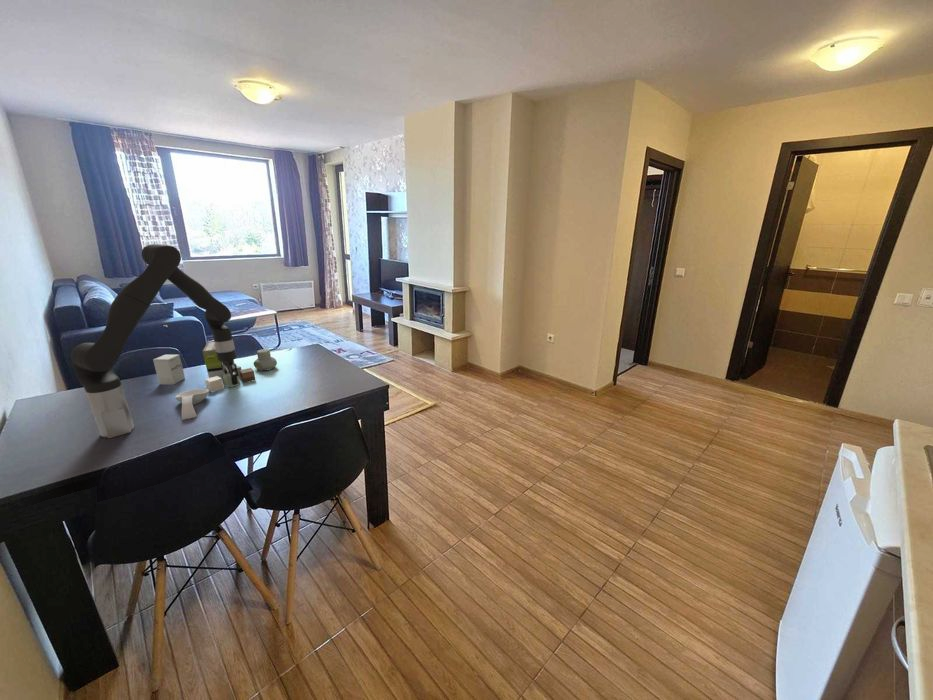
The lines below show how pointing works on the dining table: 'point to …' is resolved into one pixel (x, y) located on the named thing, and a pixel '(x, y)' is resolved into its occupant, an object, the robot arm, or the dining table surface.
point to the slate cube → (238, 370)
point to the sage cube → (229, 380)
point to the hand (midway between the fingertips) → (232, 381)
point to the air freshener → (264, 360)
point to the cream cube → (214, 383)
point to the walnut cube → (247, 375)
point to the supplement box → (169, 369)
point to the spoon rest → (191, 401)
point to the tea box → (212, 361)
